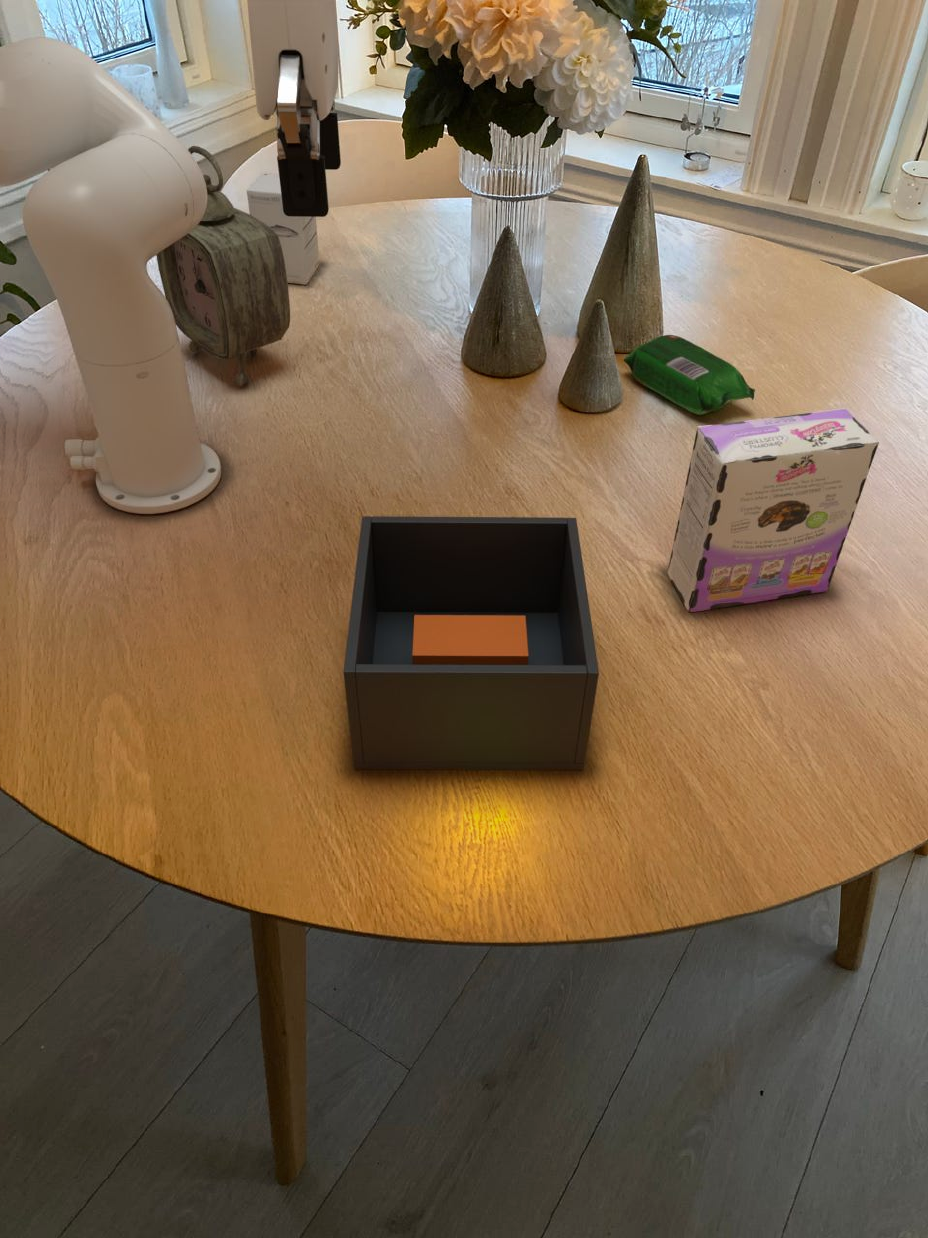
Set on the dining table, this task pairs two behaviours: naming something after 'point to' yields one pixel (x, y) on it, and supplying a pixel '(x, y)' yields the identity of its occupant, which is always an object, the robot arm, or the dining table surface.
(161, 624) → the dining table surface
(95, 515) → the dining table surface
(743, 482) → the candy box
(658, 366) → the snack package
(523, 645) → the orange rectangular block
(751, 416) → the dining table surface
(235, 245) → the tabletop clock
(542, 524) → the open box bin
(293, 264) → the white packaging box
